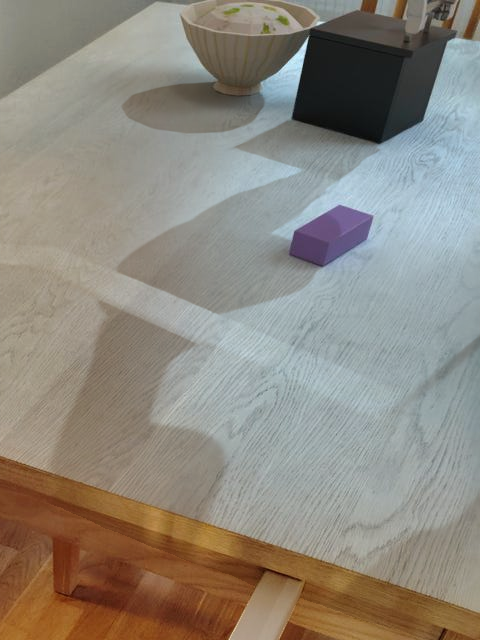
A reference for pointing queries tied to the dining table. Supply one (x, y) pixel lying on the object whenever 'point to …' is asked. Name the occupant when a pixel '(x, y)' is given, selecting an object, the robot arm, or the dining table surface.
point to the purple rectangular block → (330, 235)
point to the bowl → (246, 39)
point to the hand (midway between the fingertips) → (428, 25)
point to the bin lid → (385, 32)
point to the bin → (364, 89)
